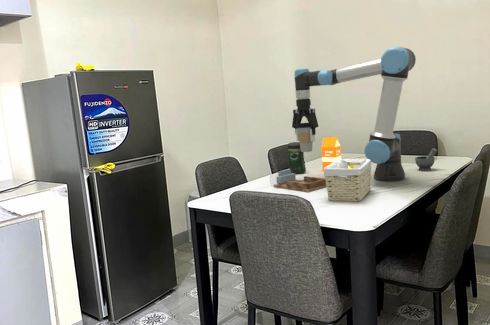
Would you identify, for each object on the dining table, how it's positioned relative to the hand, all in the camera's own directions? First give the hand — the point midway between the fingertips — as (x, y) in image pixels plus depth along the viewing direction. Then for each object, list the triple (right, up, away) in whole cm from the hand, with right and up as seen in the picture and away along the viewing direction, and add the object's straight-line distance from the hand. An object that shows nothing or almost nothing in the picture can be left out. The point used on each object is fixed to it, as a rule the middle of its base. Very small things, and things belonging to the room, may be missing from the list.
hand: (305, 140), depth 227 cm
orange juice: (+19, -17, +26) cm, 36 cm away
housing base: (-4, -24, -11) cm, 27 cm away
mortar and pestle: (+66, -16, +5) cm, 68 cm away
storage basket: (+14, -27, -37) cm, 48 cm away
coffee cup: (0, -6, +1) cm, 6 cm away
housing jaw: (-11, -22, -3) cm, 24 cm away
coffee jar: (-1, -18, +27) cm, 33 cm away
